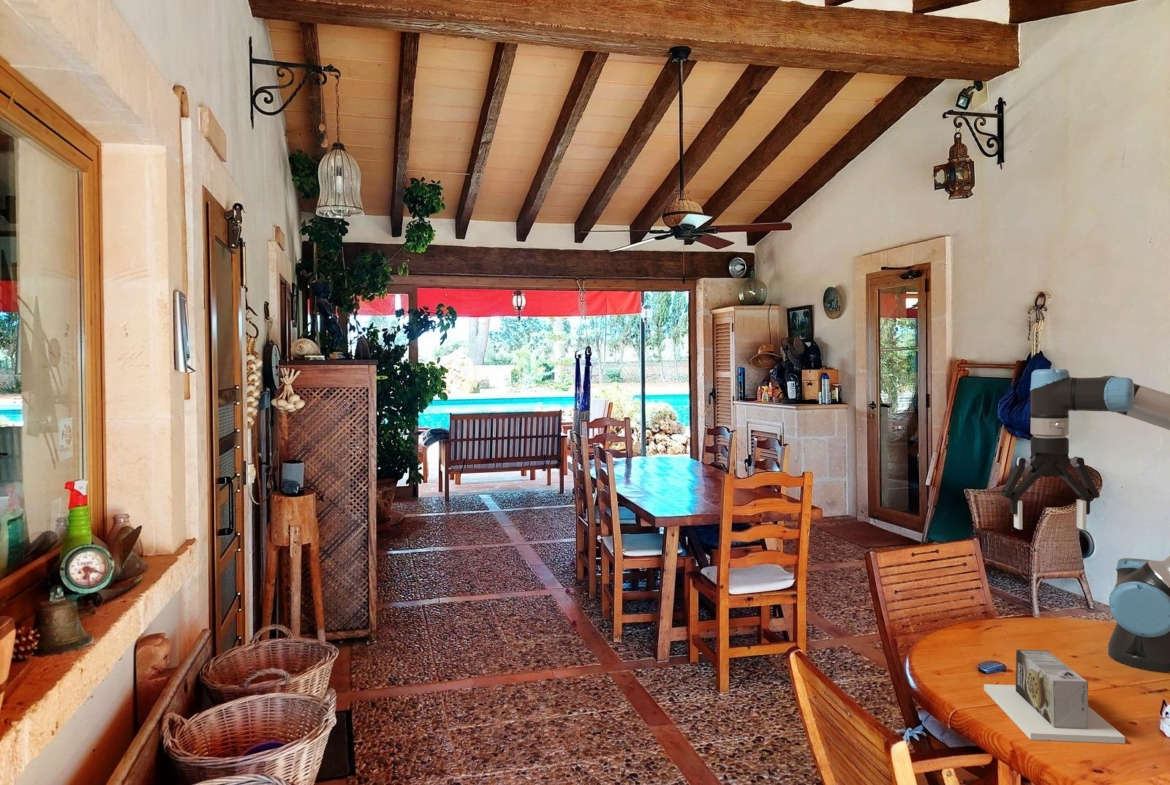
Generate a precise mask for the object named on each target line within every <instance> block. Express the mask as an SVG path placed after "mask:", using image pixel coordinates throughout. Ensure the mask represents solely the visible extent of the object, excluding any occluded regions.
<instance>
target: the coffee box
mask: <svg viewBox="0 0 1170 785" xmlns="http://www.w3.org/2000/svg"><path fill="white" fill-rule="evenodd" d="M1015 660H1016V661H1015V685H1016V692H1017V693H1018V694H1019V695H1021V696H1022V697H1023V698H1024V699H1025V700H1026V701H1027V702H1028V703H1029V704H1030V705H1031V706H1032V707H1033V708H1034V709H1035V710H1036V711H1037V712H1038V713H1039V714H1040V715H1041V716H1043V717H1044V718H1045V719H1046V720H1047V721H1048V722H1049V723H1050V724H1051V725H1052V726H1053V727H1055V728H1082V729H1087V728H1088V706H1089V681H1088V680H1086V679H1085V678H1083V677H1082V676H1081V675H1080V674H1079V673H1077V672H1076V671H1075V670H1073V669H1072V668H1071V667H1070V666H1068V665H1067V664H1066V663H1065V662H1063V661H1062V660H1061V659H1059V658H1058V657H1056V656H1055V655H1054V654H1053V653H1051V652H1050V650H1047V649H1046V650H1043V649H1042V650H1041V649H1016V650H1015Z"/></svg>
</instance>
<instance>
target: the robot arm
mask: <svg viewBox="0 0 1170 785" xmlns="http://www.w3.org/2000/svg"><path fill="white" fill-rule="evenodd" d="M1030 378H1031V379H1030V380H1031V381H1030V388H1029V391H1030V394H1029V395H1030V399H1029V400H1030V434H1031V435H1032V437H1031V438H1030V457H1029V458H1026V457H1022V456H1021V457H1020V456H1016V458H1015V461H1014V463H1015V464H1014V467H1013V469H1012V471H1011V473H1010V475H1009V477H1008V479H1007V480H1006V481H1005V482H1006V483H1005V484H1004V486H1003V488H1002V490H1001V491H1000V496H1002V497H1004V498H1006V499H1008V500H1009V512H1010V514H1012V515H1013V527H1014V528H1015V529H1018V530H1023V500H1020V498H1022V496H1023V495H1025V493H1026V492H1027V490H1029V488H1030V487H1031V486H1033V484H1034V483H1035V482H1036V481H1037V480H1038V479H1040V478H1050V477H1053V478H1059V477H1060V478H1062V480H1064V481H1065V483H1066V484H1067V485H1068V486H1069V487H1070V488H1071V489H1072V490H1073V492H1074V493H1076V494H1077V496H1078V497H1079V498H1078V499H1076V528H1078V529H1079V530H1082V531H1086V530H1087V515H1090V513H1091V502H1092V501H1093V500H1094V499H1098V498H1100V496H1101V494H1100V492H1099V490H1098V489H1097V487H1096V485H1095V483H1094V481H1093V480H1092V478H1091V476H1090V474H1089V472H1088V470H1087V468H1086V466H1085V465H1086V464H1085V459H1084V457H1079V456H1073V457H1071V458H1070V457H1069V452H1070V442H1069V441H1070V439H1069V438H1068V437H1067V436H1069V435H1070V434H1069V433H1070V430H1069V429H1070V423H1069V422H1070V421H1069V420H1070V415H1069V413H1070V411H1073V412H1077V411H1081V412H1082V411H1083V412H1111V413H1116V414H1118V415H1119V414H1120V415H1123V416H1127V417H1129V418H1133V419H1136V420H1138V421H1140V422H1144V423H1146V424H1150V425H1153V426H1156V427H1159V428H1162V429H1165V430H1169V431H1170V394H1169V393H1167V392H1163V391H1160V390H1156V389H1153V388H1151V387H1147V386H1144V385H1140V384H1136V383H1134V380H1133V379H1132V378H1130V377H1120V376H1115V375H1103V376H1098V377H1093V376H1092V377H1073V376H1072V377H1071V375H1070V373H1069V370H1068V369H1065V368H1055V369H1054V368H1053V369H1052V368H1049V369H1048V368H1045V369H1043V368H1042V369H1039V368H1038V369H1035V370H1033V371H1032V372H1031V377H1030ZM1028 465H1030V467H1031V469H1030V470H1029V471H1028V473H1027V474H1026V476H1025V477H1024V478H1023V479H1022V480H1021V481H1020V478H1021V477H1022V475H1023V474H1024V472H1025V469H1026V468H1028ZM1070 465H1071V467H1073V468H1074V470H1075V472H1076V474H1077V476H1078V477H1079V479H1080V481H1081V483H1082V485H1083V487H1084V488H1085V489H1084V488H1083V487H1082V485H1081V484H1080V483H1079V482H1078V481H1077V479H1076V478H1074V476H1073V475H1072V473H1071V472H1069V470H1068V468H1069V466H1070ZM1019 481H1020V483H1019V484H1018V482H1019ZM1116 565H1117V566H1116V568H1115V570H1116V583H1115V586H1114V588H1113V589H1112V591H1111V593H1110V595H1109V597H1108V599H1109V601H1108V602H1109V603H1108V604H1109V610H1110V614H1111V615H1112V618H1113V619H1114V620H1115V621H1116V623H1115V625H1114V626H1115V627H1114V629H1113V631H1112V634H1111V635H1110V638H1109V641H1108V642H1107V643H1108V644H1107V654H1108V656H1109V657H1110V658H1111V659H1113V660H1115V661H1116V662H1118V663H1121V664H1124V665H1126V666H1129V667H1133V668H1136V669H1141V670H1146V671H1152V672H1158V673H1159V672H1162V673H1163V672H1164V673H1170V555H1169V556H1167V557H1166V558H1165V559H1163V560H1151V559H1146V558H1145V559H1144V558H1143V559H1142V558H1131V557H1129V558H1127V557H1125V558H1124V557H1123V558H1120V559H1118V560H1117V564H1116Z"/></svg>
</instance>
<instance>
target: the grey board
mask: <svg viewBox="0 0 1170 785" xmlns="http://www.w3.org/2000/svg"><path fill="white" fill-rule="evenodd" d="M983 690H984V692H985V693H986V694H987V695H988V696H989V697H990V698H991V699H992V701H994V702H995V704H996V705H997V706H998V707H999V708H1000V709H1001V710H1002V711H1003V712H1004V713H1005V714H1006V715H1007V716H1008V717H1009V719H1011V721H1012V722H1014V724H1015V725H1016V726H1017V727H1018V728H1019V729H1020V730H1021V731H1022V732H1023V733H1024V734H1025V736H1026V737H1027V738H1028V739H1029V740H1030V741H1048V740H1049V741H1053V742H1054V741H1055V742H1077V743H1079V742H1080V743H1098V744H1099V743H1101V744H1103V743H1104V744H1108V743H1109V744H1123V745H1124V744H1126V737H1125V735H1123V734H1122V733H1121V732H1120V731H1119V730H1117V729H1116V728H1115V727H1114V726H1113V725H1111V724H1110V723H1109V722H1108V721H1107V720H1106V719H1104V718H1103V717H1102V716H1101V715H1100V714H1098V712H1096V711H1095V710H1093V708H1091V707H1090V706H1089V705H1088V728H1087V729H1082V728H1055V727H1053V726H1052V725H1051V724H1050V723H1049V722H1048V721H1047V720H1046V719H1045V718H1044V717H1043V716H1041V715H1040V714H1039V713H1038V712H1037V711H1036V710H1035V709H1034V708H1033V707H1032V706H1031V705H1030V704H1029V703H1028V702H1027V701H1026V700H1025V699H1024V698H1023V697H1022V696H1021V695H1019V694H1018V693H1017V692H1016V684H986V683H985V684H984V683H983Z"/></svg>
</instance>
